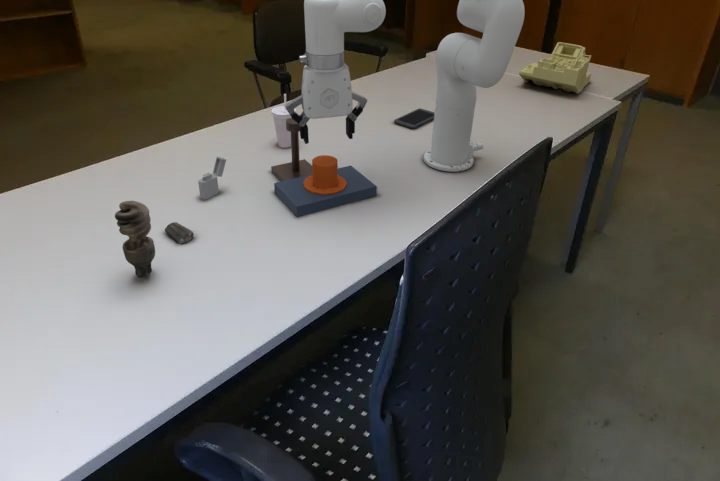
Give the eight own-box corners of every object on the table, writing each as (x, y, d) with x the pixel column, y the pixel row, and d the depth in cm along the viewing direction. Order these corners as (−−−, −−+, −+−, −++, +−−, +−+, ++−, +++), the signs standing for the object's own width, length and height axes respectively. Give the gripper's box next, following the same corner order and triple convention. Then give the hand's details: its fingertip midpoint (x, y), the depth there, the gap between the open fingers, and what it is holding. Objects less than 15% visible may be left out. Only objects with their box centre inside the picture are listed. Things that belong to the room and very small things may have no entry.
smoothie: (293, 151, 151) (291, 99, 144) (269, 148, 152) (266, 96, 145) (300, 141, 156) (298, 90, 149) (277, 139, 157) (274, 88, 150)
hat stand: (304, 164, 145) (303, 111, 137) (321, 179, 138) (320, 124, 131) (271, 171, 141) (268, 117, 133) (286, 187, 135) (284, 131, 127)
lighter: (205, 200, 129) (200, 167, 124) (200, 197, 129) (195, 165, 125) (229, 188, 133) (226, 157, 129) (224, 186, 134) (220, 154, 130)
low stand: (350, 174, 141) (350, 165, 140) (376, 195, 132) (376, 186, 131) (274, 192, 132) (273, 183, 131) (296, 216, 124) (296, 206, 122)
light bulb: (133, 266, 107) (117, 195, 99) (164, 266, 108) (150, 195, 99) (126, 285, 103) (108, 212, 94) (157, 284, 103) (142, 211, 95)
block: (177, 227, 119) (176, 219, 118) (196, 237, 116) (195, 230, 115) (162, 234, 117) (161, 227, 116) (181, 245, 113) (180, 237, 112)
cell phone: (439, 116, 174) (440, 113, 174) (413, 129, 165) (413, 127, 165) (419, 110, 178) (419, 107, 178) (392, 122, 169) (393, 120, 169)
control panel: (541, 33, 207) (600, 36, 197) (539, 74, 216) (594, 80, 207) (517, 58, 192) (579, 64, 182) (516, 102, 202) (575, 109, 192)
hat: (334, 171, 137) (334, 148, 133) (354, 189, 130) (355, 164, 126) (295, 180, 132) (294, 156, 129) (315, 199, 125) (314, 174, 122)
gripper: (285, 68, 111) (291, 150, 120) (372, 62, 115) (370, 141, 124) (279, 57, 117) (285, 136, 126) (362, 51, 120) (361, 128, 130)
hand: (327, 138), depth 125 cm, fingers open, 9 cm apart
